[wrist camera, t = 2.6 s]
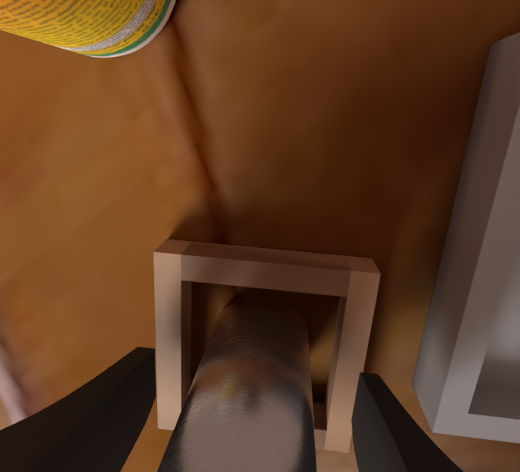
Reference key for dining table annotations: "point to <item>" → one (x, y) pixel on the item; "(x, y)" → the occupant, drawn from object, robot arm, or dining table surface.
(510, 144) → the tray
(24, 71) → the dining table surface
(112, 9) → the supplement bottle
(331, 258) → the socket block
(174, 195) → the dining table surface
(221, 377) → the pin
